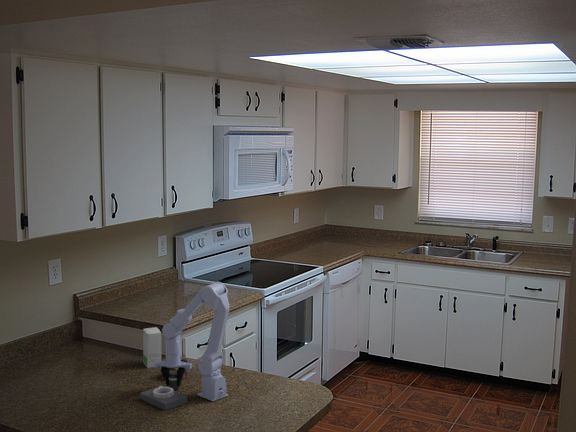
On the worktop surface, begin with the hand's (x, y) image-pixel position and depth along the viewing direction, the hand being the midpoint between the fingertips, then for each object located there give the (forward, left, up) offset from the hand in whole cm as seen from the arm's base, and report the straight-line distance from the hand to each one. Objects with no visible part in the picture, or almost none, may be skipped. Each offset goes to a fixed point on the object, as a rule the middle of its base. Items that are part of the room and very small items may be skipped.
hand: (173, 385), depth 266 cm
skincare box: (+30, -11, -2) cm, 32 cm away
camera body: (-7, +10, -1) cm, 12 cm away
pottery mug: (+11, -10, -2) cm, 15 cm away
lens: (0, 0, -1) cm, 1 cm away
